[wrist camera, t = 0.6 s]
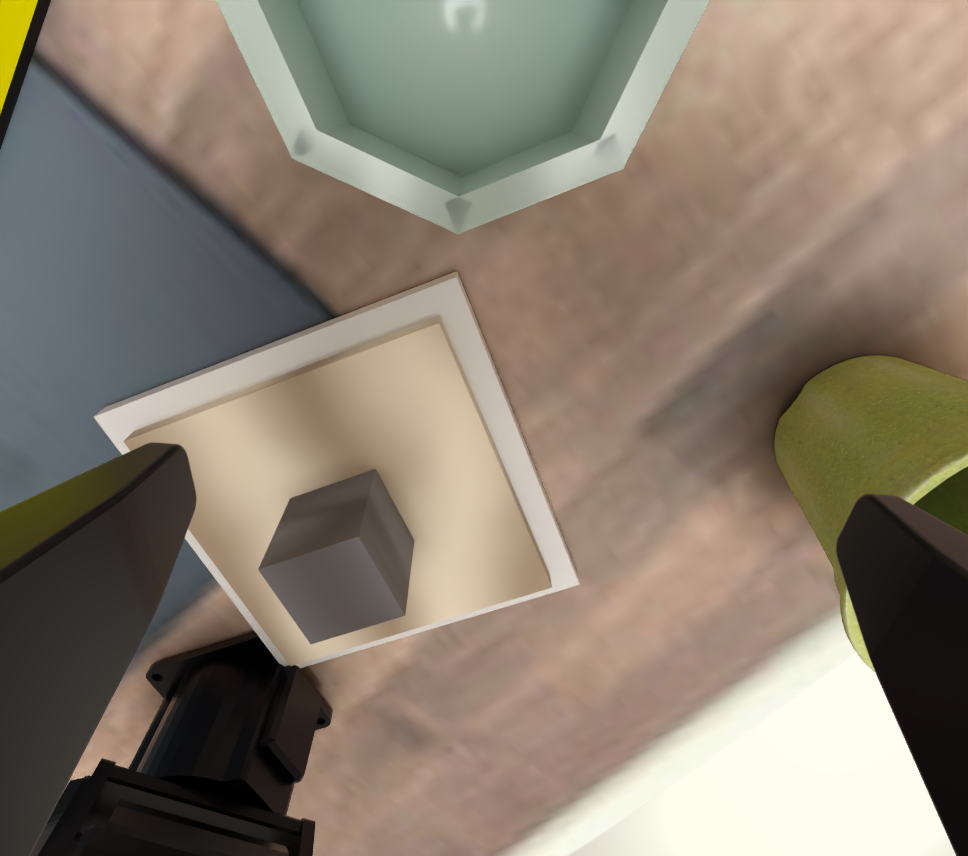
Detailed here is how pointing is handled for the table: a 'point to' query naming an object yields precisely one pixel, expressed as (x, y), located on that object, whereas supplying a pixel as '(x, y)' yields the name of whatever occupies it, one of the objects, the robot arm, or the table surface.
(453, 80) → the bowl
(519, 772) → the table surface
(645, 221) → the table surface
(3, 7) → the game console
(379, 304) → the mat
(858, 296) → the table surface
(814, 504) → the plant pot
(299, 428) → the lid
